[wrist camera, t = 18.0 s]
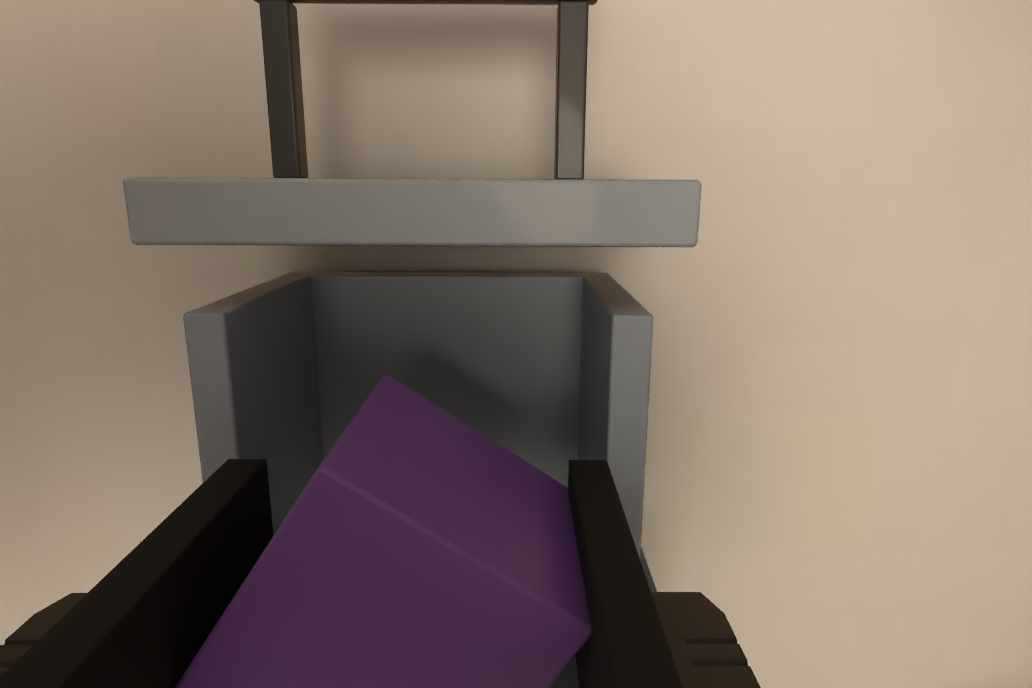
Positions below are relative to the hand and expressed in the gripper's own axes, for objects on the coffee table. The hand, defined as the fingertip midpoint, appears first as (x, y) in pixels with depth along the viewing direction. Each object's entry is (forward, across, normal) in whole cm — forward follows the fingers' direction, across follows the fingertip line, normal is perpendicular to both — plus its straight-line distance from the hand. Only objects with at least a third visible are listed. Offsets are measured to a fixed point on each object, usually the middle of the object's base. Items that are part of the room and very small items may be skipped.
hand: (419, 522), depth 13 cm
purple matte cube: (0, 0, 0) cm, 0 cm away
